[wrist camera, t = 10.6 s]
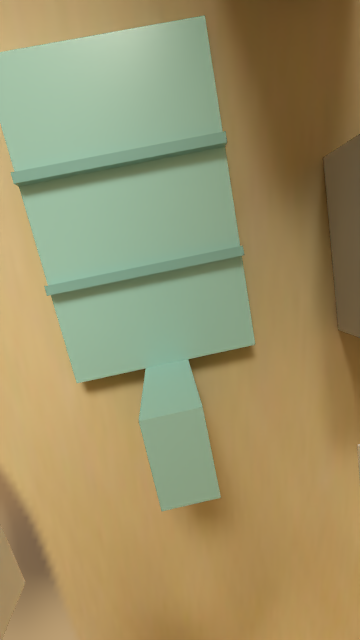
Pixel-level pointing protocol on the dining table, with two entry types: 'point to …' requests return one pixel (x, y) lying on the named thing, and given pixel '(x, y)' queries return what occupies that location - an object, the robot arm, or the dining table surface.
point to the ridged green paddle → (134, 221)
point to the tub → (345, 231)
